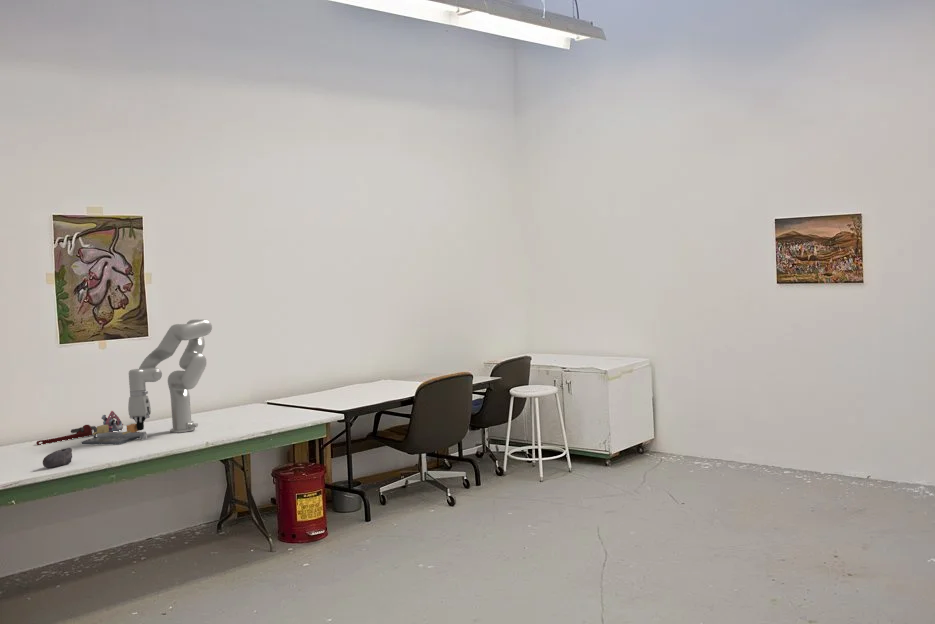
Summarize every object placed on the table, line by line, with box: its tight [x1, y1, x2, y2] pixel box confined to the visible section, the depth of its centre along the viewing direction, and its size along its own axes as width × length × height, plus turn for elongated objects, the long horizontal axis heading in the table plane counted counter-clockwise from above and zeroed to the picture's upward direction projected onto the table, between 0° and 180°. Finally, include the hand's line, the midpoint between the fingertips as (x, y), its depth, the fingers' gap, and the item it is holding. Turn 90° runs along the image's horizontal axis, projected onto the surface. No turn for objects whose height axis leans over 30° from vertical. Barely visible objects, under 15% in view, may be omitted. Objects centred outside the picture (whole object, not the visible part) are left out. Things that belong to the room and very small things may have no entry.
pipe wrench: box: [35, 424, 97, 446], centre depth 444 cm, size 7×2×30 cm
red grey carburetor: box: [101, 410, 124, 432], centre depth 464 cm, size 11×11×12 cm
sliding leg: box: [122, 423, 141, 438], centre depth 433 cm, size 4×11×5 cm, turn 166°
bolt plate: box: [80, 424, 147, 445], centre depth 433 cm, size 27×16×7 cm, turn 76°
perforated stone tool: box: [42, 447, 73, 469], centre depth 379 cm, size 15×5×7 cm, turn 152°
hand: (140, 429), depth 435 cm, fingers closed
